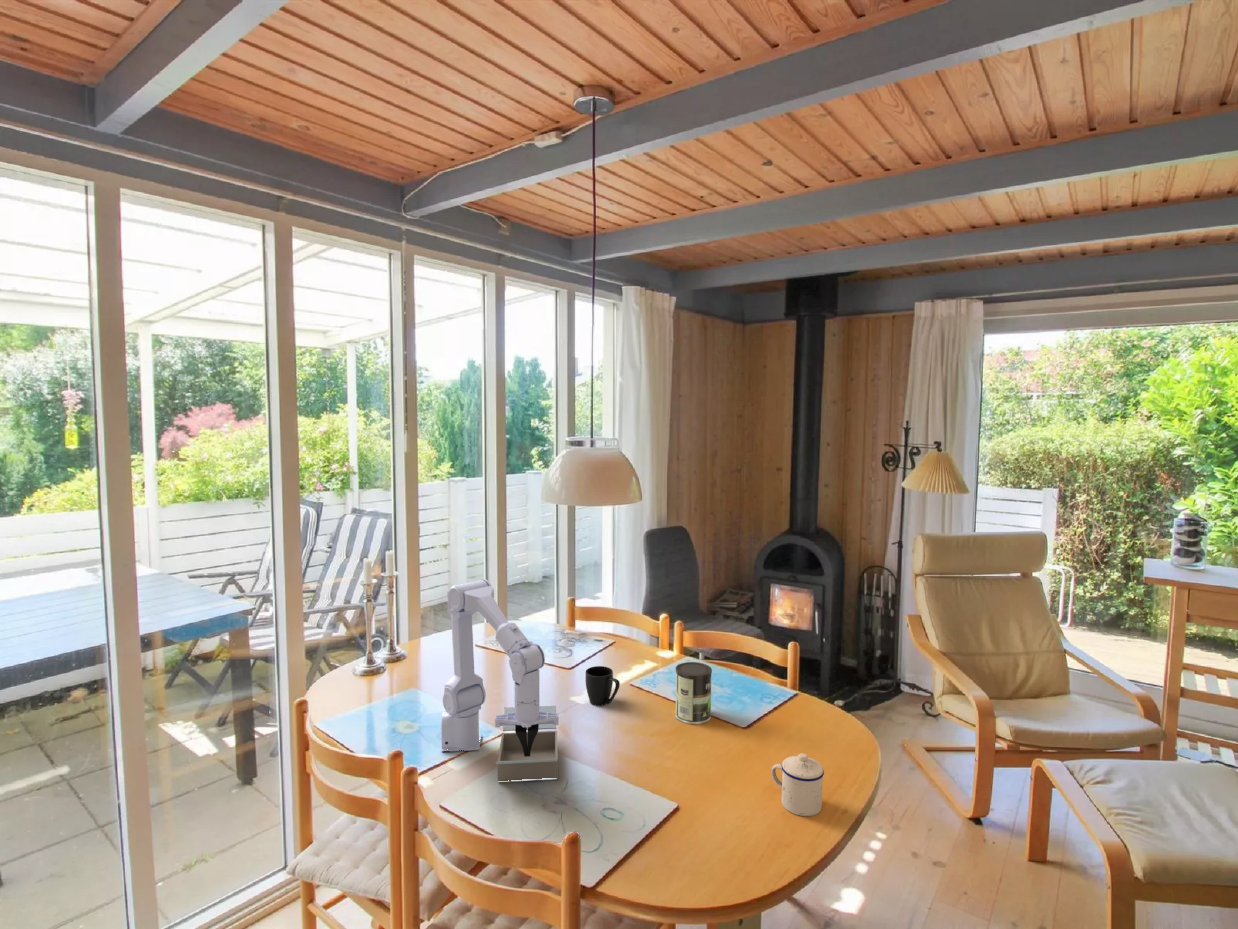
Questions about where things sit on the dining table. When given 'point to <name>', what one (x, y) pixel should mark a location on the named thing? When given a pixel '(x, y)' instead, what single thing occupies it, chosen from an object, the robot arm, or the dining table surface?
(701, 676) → the coffee can
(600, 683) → the mug
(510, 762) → the near flap
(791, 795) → the teacup with lid
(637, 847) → the dining table surface
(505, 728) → the far flap
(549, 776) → the carton
